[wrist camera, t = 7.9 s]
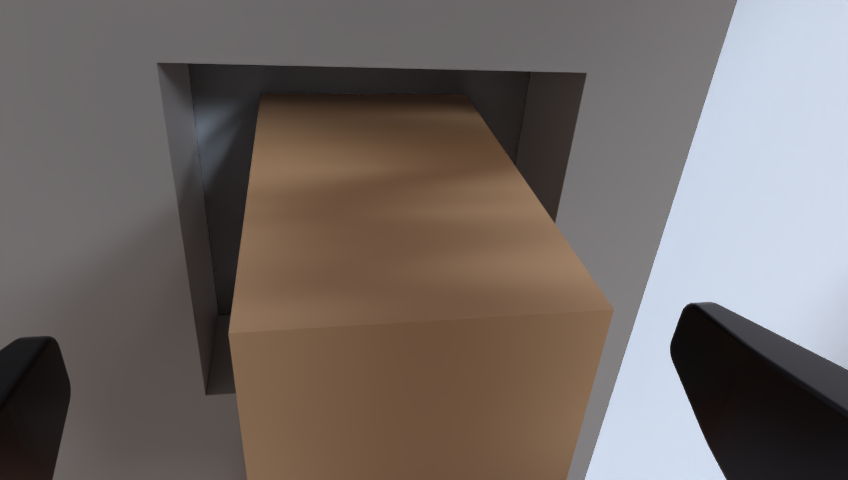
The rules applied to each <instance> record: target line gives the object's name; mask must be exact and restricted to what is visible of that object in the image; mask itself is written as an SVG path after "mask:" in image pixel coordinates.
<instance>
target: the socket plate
mask: <svg viewBox="0 0 848 480" xmlns="http://www.w3.org/2000/svg"><path fill="white" fill-rule="evenodd" d="M736 2H737V0H0V350H1V349H2V348H4V347H5V346H7V345H8V344H10V343H11V342H12V341H14V340H16V339H18V338H21V337H33V336H51V337H53V338H55V339H56V340H57V342H58V344H59V346H60V350H61V353H62V356H63V360H64V363H65V366H66V370H67V373H68V376H69V380H70V385H71V397H70V403H69V408H68V412H67V417H66V421H65V426H64V430H63V435H62V439H61V444H60V448H59V453H58V458H57V462H56V467H55V471H54V476H53V480H247V474H246V466H245V458H244V451H243V443H242V435H241V427H240V420H239V412H238V404H237V396H236V389H235V381H234V373H233V365H232V358H231V350H230V342H229V334H228V333H229V325H230V318H231V315H218V307H217V299H216V291H215V283H214V274H213V266H212V258H211V250H210V241H209V233H208V225H207V217H206V208H205V200H204V192H203V184H202V175H201V167H200V159H199V151H198V142H197V134H196V126H195V118H194V109H193V101H192V93H191V85H190V76H189V68H188V63H196V64H238V65H280V66H322V67H364V68H406V69H448V70H490V71H531V72H530V78H529V84H528V90H527V96H526V102H525V109H524V115H523V121H522V127H521V133H520V139H519V145H518V151H517V157H516V163H515V166H516V168H517V169H518V171H519V172H520V174H521V175H522V176H523V178H524V179H525V181H526V182H527V184H528V185H529V187H530V188H531V190H532V191H533V192H534V194H535V195H536V197H537V198H538V200H539V201H540V203H541V204H542V206H543V207H544V208H545V210H546V211H547V213H548V214H549V216H550V217H551V219H552V220H553V222H554V223H555V224H556V226H557V227H558V229H559V230H560V232H561V233H562V235H563V236H564V238H565V239H566V240H567V242H568V243H569V245H570V246H571V248H572V249H573V251H574V252H575V254H576V255H577V256H578V258H579V259H580V261H581V262H582V264H583V265H584V267H585V268H586V270H587V271H588V272H589V274H590V275H591V277H592V278H593V280H594V281H595V283H596V284H597V286H598V287H599V288H600V290H601V291H602V293H603V294H604V296H605V297H606V299H607V300H608V302H609V303H610V304H611V306H612V307H613V309H614V312H613V315H612V319H611V322H610V326H609V329H608V333H607V337H606V340H605V344H604V347H603V351H602V354H601V358H600V362H599V365H598V369H597V372H596V376H595V380H594V383H593V387H592V390H591V394H590V397H589V401H588V405H587V408H586V412H585V415H584V419H583V422H582V426H581V430H580V433H579V437H578V440H577V444H576V447H575V451H574V455H573V458H572V462H571V465H570V469H569V472H568V476H567V480H585V476H586V473H587V470H588V467H589V464H590V461H591V458H592V454H593V451H594V448H595V445H596V442H597V439H598V436H599V432H600V429H601V426H602V423H603V420H604V417H605V414H606V410H607V407H608V404H609V401H610V398H611V395H612V392H613V388H614V385H615V382H616V379H617V376H618V373H619V370H620V366H621V363H622V360H623V357H624V354H625V351H626V348H627V344H628V341H629V338H630V335H631V332H632V329H633V326H634V322H635V319H636V316H637V313H638V310H639V307H640V304H641V300H642V297H643V294H644V291H645V288H646V285H647V282H648V278H649V275H650V272H651V269H652V266H653V263H654V260H655V256H656V253H657V250H658V247H659V244H660V241H661V238H662V234H663V231H664V228H665V225H666V222H667V219H668V216H669V212H670V209H671V206H672V203H673V200H674V197H675V194H676V190H677V187H678V184H679V181H680V178H681V175H682V172H683V168H684V165H685V162H686V159H687V156H688V153H689V150H690V146H691V143H692V140H693V137H694V134H695V131H696V128H697V124H698V121H699V118H700V115H701V112H702V109H703V106H704V102H705V99H706V96H707V93H708V90H709V87H710V84H711V80H712V77H713V74H714V71H715V68H716V65H717V62H718V58H719V55H720V52H721V49H722V46H723V43H724V39H725V36H726V33H727V30H728V27H729V24H730V21H731V17H732V14H733V11H734V8H735V5H736Z"/></svg>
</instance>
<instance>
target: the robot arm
mask: <svg viewBox="0 0 848 480" xmlns="http://www.w3.org/2000/svg"><path fill="white" fill-rule="evenodd" d="M670 353H671V358H672V361H673V363H674V366H675V368H676V371H677V373H678V375H679V378H680V380H681V382H682V385H683V387H684V390H685V392H686V394H687V397H688V399H689V402H690V404H691V406H692V409H693V411H694V414H695V416H696V418H697V421H698V423H699V426H700V428H701V430H702V433H703V435H704V437H705V439H706V441H707V444H708V446H709V448H710V450H711V452H712V454H713V455H714V457H715V459H716V461H717V463H718V465H719V467H720V469H721V470H722V472H723V474H724V476H725V478H726V480H848V370H847V369H845V368H843V367H841V366H839V365H837V364H835V363H833V362H831V361H829V360H827V359H825V358H823V357H821V356H819V355H817V354H815V353H813V352H811V351H809V350H807V349H805V348H803V347H801V346H799V345H797V344H795V343H793V342H791V341H790V340H788V339H786V338H784V337H782V336H780V335H778V334H776V333H774V332H772V331H770V330H768V329H766V328H764V327H762V326H760V325H758V324H756V323H754V322H752V321H750V320H748V319H746V318H744V317H742V316H740V315H738V314H736V313H734V312H732V311H730V310H728V309H726V308H724V307H722V306H720V305H718V304H716V303H713V302H701V303H690V304H688V305H686V306H685V308H684V309H683V311H682V313H681V316H680V319H679V321H678V324H677V327H676V330H675V332H674V335H673V338H672V341H671V345H670ZM70 397H71V385H70V380H69V376H68V373H67V370H66V366H65V363H64V360H63V356H62V353H61V350H60V346H59V344H58V342H57V340H56V339H55V338H53V337H51V336H33V337H21V338H18V339H16V340H14V341H12V342H11V343H10V344H8V345H7V346H5V347H4V348H2V349H1V350H0V480H53V476H54V471H55V467H56V462H57V458H58V453H59V448H60V444H61V439H62V435H63V430H64V426H65V421H66V417H67V412H68V408H69V403H70Z"/></svg>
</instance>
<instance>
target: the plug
mask: <svg viewBox="0 0 848 480" xmlns="http://www.w3.org/2000/svg"><path fill="white" fill-rule="evenodd" d="M613 312H614V309H613V307H612V306H611V304H610V303H609V302H608V300H607V299H606V297H605V296H604V294H603V293H602V291H601V290H600V288H599V287H598V286H597V284H596V283H595V281H594V280H593V278H592V277H591V275H590V274H589V272H588V271H587V270H586V268H585V267H584V265H583V264H582V262H581V261H580V259H579V258H578V256H577V255H576V254H575V252H574V251H573V249H572V248H571V246H570V245H569V243H568V242H567V240H566V239H565V238H564V236H563V235H562V233H561V232H560V230H559V229H558V227H557V226H556V224H555V223H554V222H553V220H552V219H551V217H550V216H549V214H548V213H547V211H546V210H545V208H544V207H543V206H542V204H541V203H540V201H539V200H538V198H537V197H536V195H535V194H534V192H533V191H532V190H531V188H530V187H529V185H528V184H527V182H526V181H525V179H524V178H523V176H522V175H521V174H520V172H519V171H518V169H517V168H516V166H515V165H514V163H513V162H512V160H511V159H510V158H509V156H508V155H507V153H506V152H505V150H504V149H503V147H502V146H501V144H500V143H499V142H498V140H497V139H496V137H495V136H494V134H493V133H492V131H491V130H490V128H489V127H488V126H487V124H486V123H485V121H484V120H483V118H482V117H481V115H480V114H479V113H478V111H477V110H476V108H475V107H474V105H473V104H472V102H471V101H470V99H469V98H468V97H467V95H466V94H297V93H261V95H260V102H259V110H258V117H257V125H256V132H255V139H254V147H253V154H252V162H251V169H250V177H249V184H248V191H247V199H246V206H245V214H244V221H243V229H242V236H241V243H240V251H239V258H238V266H237V273H236V281H235V288H234V295H233V303H232V310H231V318H230V325H229V333H228V334H229V342H230V350H231V358H232V365H233V373H234V381H235V389H236V396H237V404H238V412H239V420H240V427H241V435H242V443H243V451H244V458H245V466H246V474H247V480H567V476H568V472H569V469H570V465H571V462H572V458H573V455H574V451H575V447H576V444H577V440H578V437H579V433H580V430H581V426H582V422H583V419H584V415H585V412H586V408H587V405H588V401H589V397H590V394H591V390H592V387H593V383H594V380H595V376H596V372H597V369H598V365H599V362H600V358H601V354H602V351H603V347H604V344H605V340H606V337H607V333H608V329H609V326H610V322H611V319H612V315H613Z"/></svg>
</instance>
